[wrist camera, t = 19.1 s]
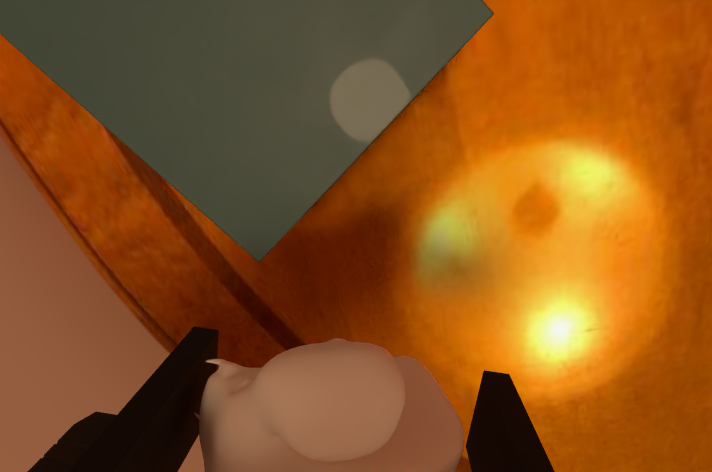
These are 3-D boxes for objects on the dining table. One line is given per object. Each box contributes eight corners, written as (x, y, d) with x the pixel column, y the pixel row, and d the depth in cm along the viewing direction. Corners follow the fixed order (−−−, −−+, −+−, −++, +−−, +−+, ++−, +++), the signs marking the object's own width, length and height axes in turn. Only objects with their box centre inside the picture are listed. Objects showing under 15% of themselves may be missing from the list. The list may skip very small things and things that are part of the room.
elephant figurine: (241, 249, 13) (133, 355, 8) (509, 317, 13) (599, 473, 8) (206, 438, 15) (98, 637, 10) (441, 498, 15) (473, 731, 10)
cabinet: (98, 23, 28) (-66, -24, 18) (238, -179, 25) (137, -376, 15) (301, 210, 30) (258, 263, 20) (454, 48, 27) (494, 13, 17)
